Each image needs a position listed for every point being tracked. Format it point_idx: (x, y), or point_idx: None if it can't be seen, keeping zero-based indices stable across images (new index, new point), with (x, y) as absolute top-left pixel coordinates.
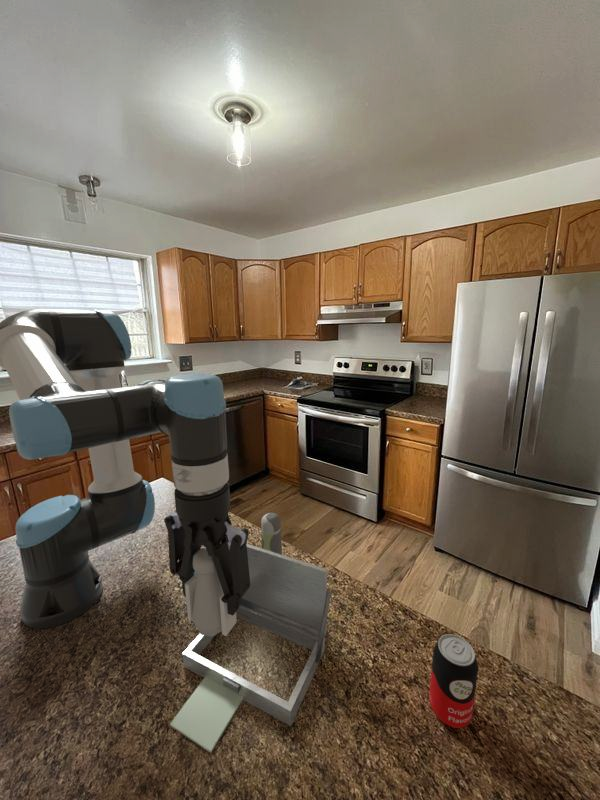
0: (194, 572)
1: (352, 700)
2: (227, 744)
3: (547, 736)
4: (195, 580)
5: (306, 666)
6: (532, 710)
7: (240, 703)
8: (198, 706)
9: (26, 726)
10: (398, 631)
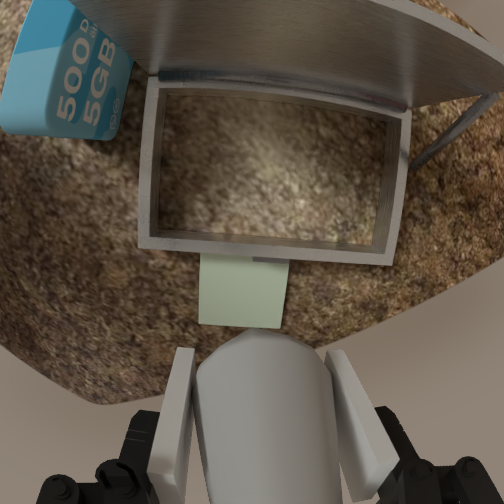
0: (30, 128)
1: (447, 190)
2: (297, 309)
3: None
4: (180, 486)
5: (398, 183)
6: None
7: None
8: (223, 289)
9: (47, 366)
10: None
